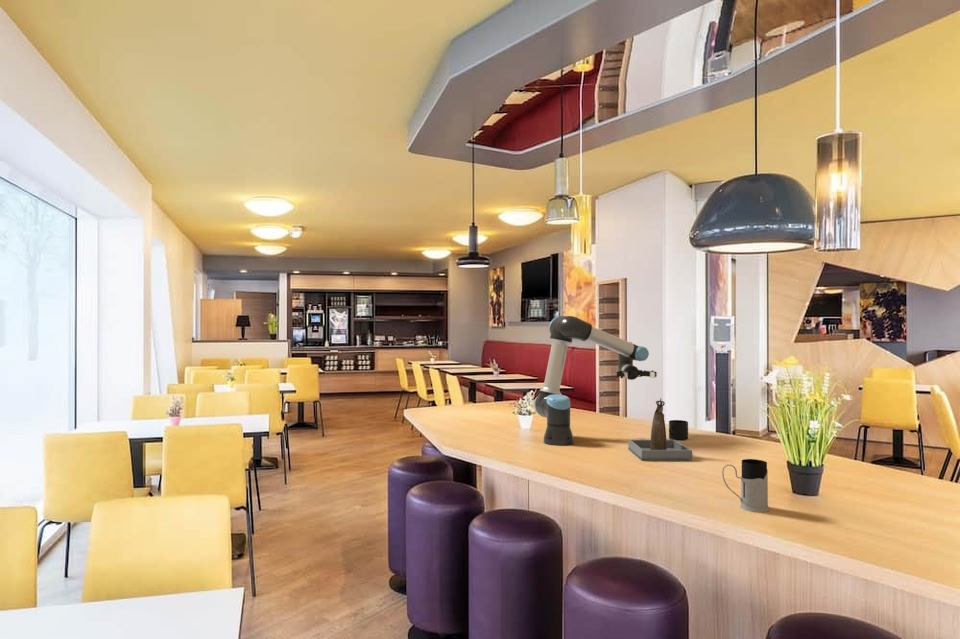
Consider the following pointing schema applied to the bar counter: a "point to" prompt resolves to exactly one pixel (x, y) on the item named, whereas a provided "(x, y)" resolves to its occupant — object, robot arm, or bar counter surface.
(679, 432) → the mug
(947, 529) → the bar counter surface
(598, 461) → the bar counter surface
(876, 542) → the bar counter surface
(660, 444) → the statue
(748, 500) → the glass holder
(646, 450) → the box
